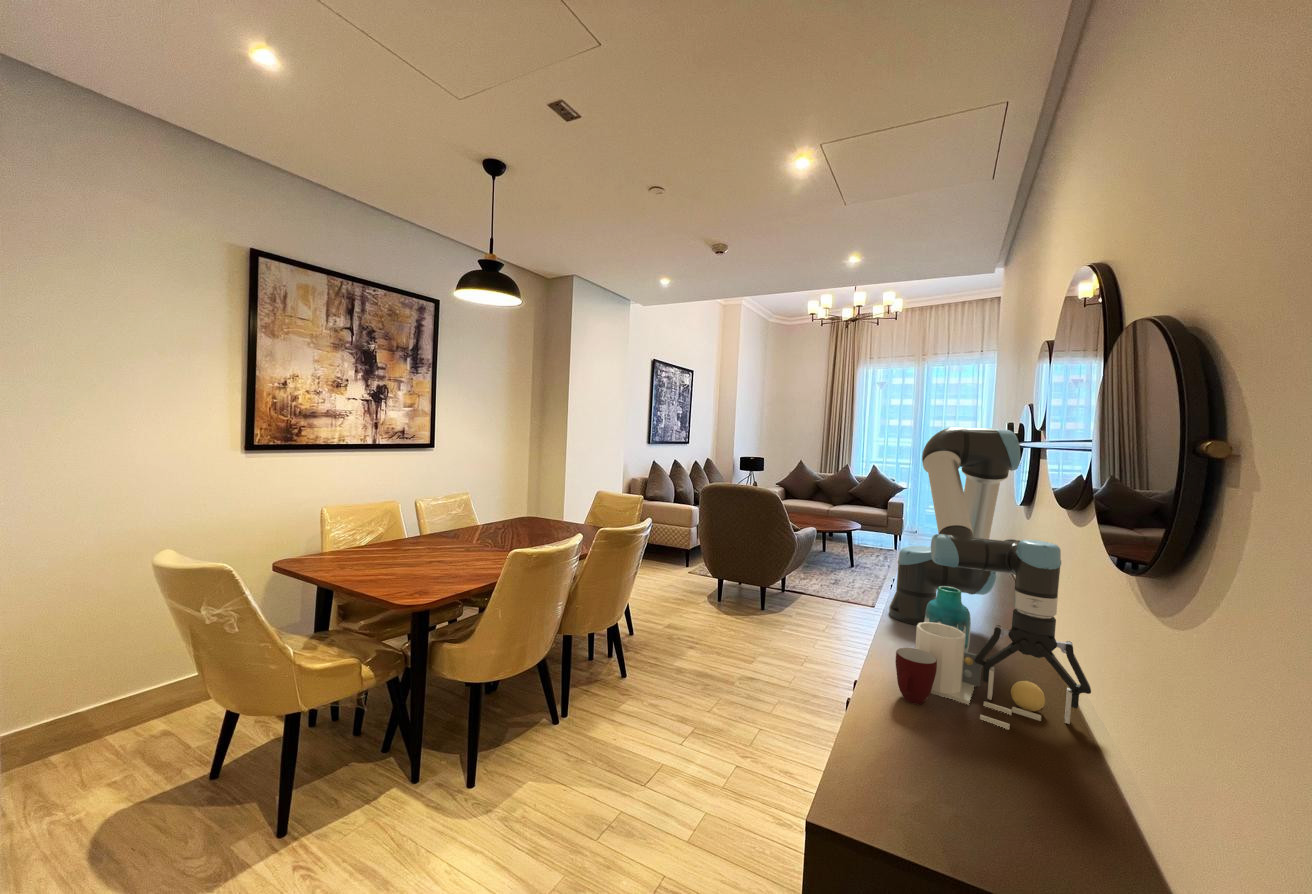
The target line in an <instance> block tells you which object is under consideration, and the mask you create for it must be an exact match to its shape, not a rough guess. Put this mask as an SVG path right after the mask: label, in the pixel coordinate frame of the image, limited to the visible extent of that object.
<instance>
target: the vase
mask: <svg viewBox="0 0 1312 894" xmlns="http://www.w3.org/2000/svg"><path fill="white" fill-rule="evenodd" d="M924 622H932V623H940V624H944V625H948V626H951V627H954V628H956V629H959V630H961V631H962V632H963V633H964V634H966V635H965V649H964V651H965V652H969V648H970V642H971V641H970V640H971V629H972V627H971V625H972V624H971V613H970V611H969V608H967V606H966V605H964V604H963V603H962V592H961V591H960V590H959V589H956V588H953V587H947V586H940V587H938V590H937V592H936V599H934V600H931V601H930V602H929V603H928V604H927V607H926V611H925V619H924Z"/></svg>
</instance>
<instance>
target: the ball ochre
mask: <svg viewBox="0 0 1312 894" xmlns="http://www.w3.org/2000/svg"><path fill="white" fill-rule="evenodd" d="M1010 695H1011V698H1012V700H1013V702H1014V703H1015V705H1017V706H1018V708H1020V709H1022V710H1025V711H1029V712H1037V711H1040V710H1041V709H1042V708H1043V707H1044V706H1045V704H1046V697H1045V694H1044V691H1043V690H1042V689H1041V688H1040V687H1039V686H1038V685H1037V684H1036V683H1034V682H1031V681H1028V680H1019V681H1016V682H1015V683H1014V684H1013V685H1012V687H1011V689H1010Z"/></svg>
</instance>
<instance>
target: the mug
mask: <svg viewBox="0 0 1312 894" xmlns="http://www.w3.org/2000/svg"><path fill="white" fill-rule="evenodd" d="M895 670H896V679H897V680H896V681H897V686H898V688H899V689H898V690H899V691H900V693H901V695H902V697H903V699H904V700H905V701H906V702H908V703H911V704H914V705H922V704H924V703H925V701H926V700H927V699H928V698H929V696H930V694H932V693H931V690H932V686H933V683H934V679H935V675H936V670H937V659H936V658H935V657H934V656H933V655H931V654H929V653H927V652H925V651H922V650H918V649H915V648H912V647H901V648H897V649H896V652H895Z"/></svg>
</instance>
